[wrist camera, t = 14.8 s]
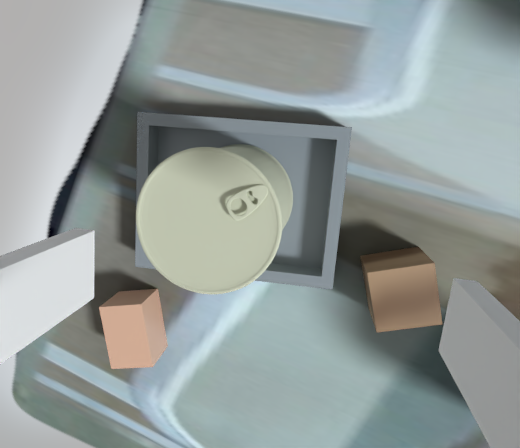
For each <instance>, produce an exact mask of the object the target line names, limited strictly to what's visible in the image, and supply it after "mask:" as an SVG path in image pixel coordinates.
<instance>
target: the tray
mask: <svg viewBox="0 0 520 448" xmlns="http://www.w3.org/2000/svg"><path fill="white" fill-rule="evenodd" d="M351 130H352V127H338V126H325V125H311V124H298V123H284V122H271V121H257V120H244V119H230V118H217V117H203V116H189V115H176V114H162V113H149V112H137V175H136V207H137V201H138V197H139V194H140V191H141V189H142V186H143V185H144V183H145V181H146V179H147V178H148V176H149V175H150V174H151V172H152V171H153V170H154V169H155V168H156V167H157V166H158V165H159V164H160V163H161V162H163V161H164V160H165V159H167V158H168V157H170V156H172V155H174V154H176V153H178V152H180V151H183V150H187V149H190V148H196V147H215V148H221V147H224V146H228V145H234V144H245V145H251V146H255V147H258V148H260V149H262V150H264V151H266V152H268V153H269V154H271V155H272V156H273V157H274V158H276V159H277V161H278V162H279V163H280V164H281V165H282V166H283V168H284V169H285V171H286V173H287V175H288V177H289V179H290V182H291V186H292V191H293V206H292V211H291V214H290V217H289V220H288V222H287V223H286V225H285V227H284V228H283V230H282V235H281V240H280V244H279V248H278V250H277V252H276V255H275V257H274V259H273V260H272V262H271V264H270V265H269V266H268V268H267V269H266V270H265V271H264V272H263V273H262V274H261V275H260V276H259V277H258V278H257V279H256V280H255V281H264V282H273V283H281V284H290V285H298V286H307V287H316V288H324V289H333V281H334V273H335V264H336V256H337V248H338V239H339V231H340V222H341V214H342V206H343V197H344V189H345V180H346V172H347V164H348V155H349V147H350V139H351ZM135 267H143V268H152V269H156V268H155V267H154V266H153V265H152V263H151V262H150V261H149V259H148V258H147V256H146V254H145V252H144V250H143V248H142V246H141V243H140V240H139V237H138V233H137V227H136V248H135Z"/></svg>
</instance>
